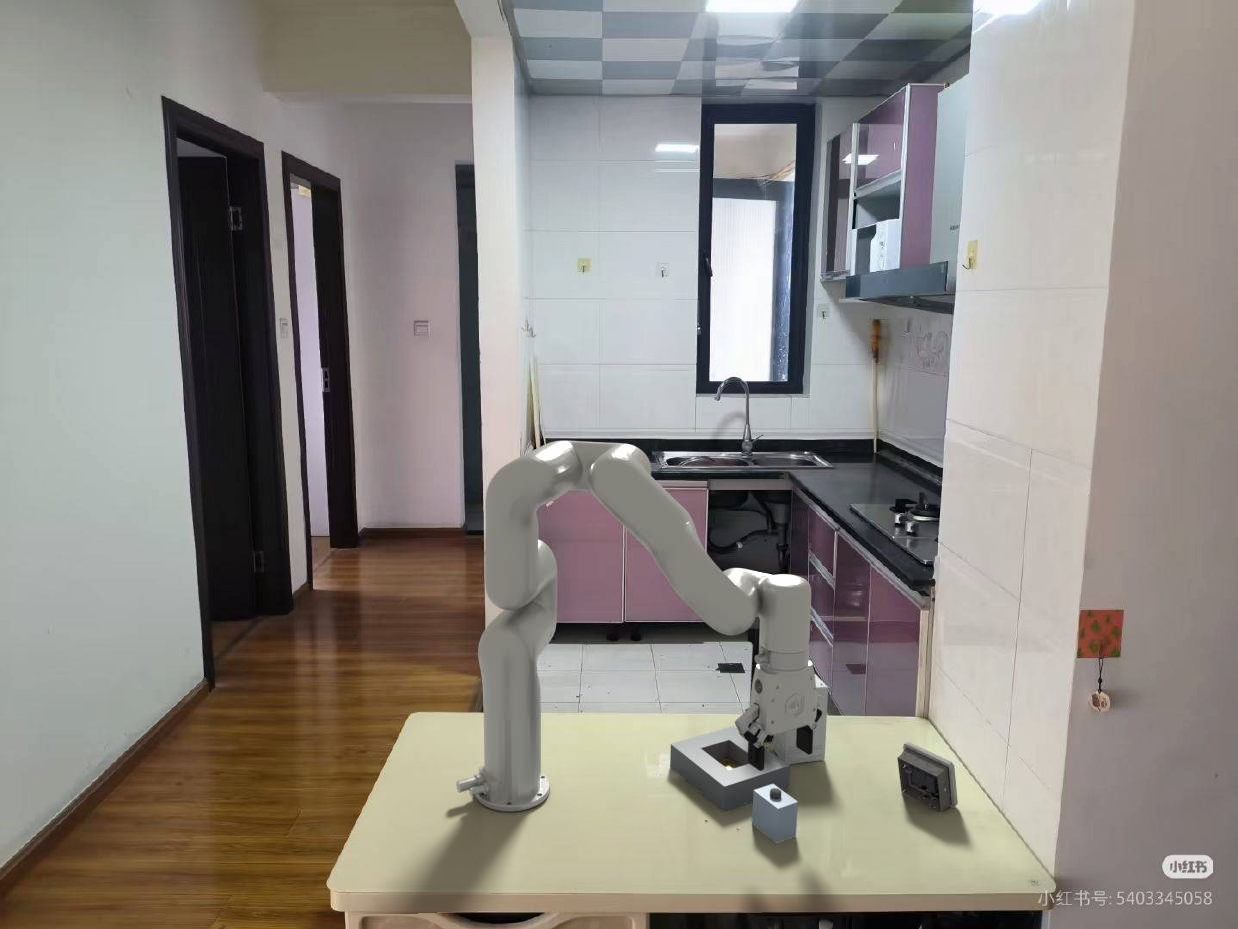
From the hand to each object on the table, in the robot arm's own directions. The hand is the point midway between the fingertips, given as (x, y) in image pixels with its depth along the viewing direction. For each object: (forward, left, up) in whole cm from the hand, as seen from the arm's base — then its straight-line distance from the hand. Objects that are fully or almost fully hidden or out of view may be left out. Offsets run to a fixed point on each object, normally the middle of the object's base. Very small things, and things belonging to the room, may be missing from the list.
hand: (780, 758), depth 141 cm
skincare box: (+19, +16, -13) cm, 28 cm away
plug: (0, 0, -13) cm, 13 cm away
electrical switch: (+28, -6, -13) cm, 31 cm away
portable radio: (+18, +26, -13) cm, 34 cm away
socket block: (+3, +16, -12) cm, 21 cm away
